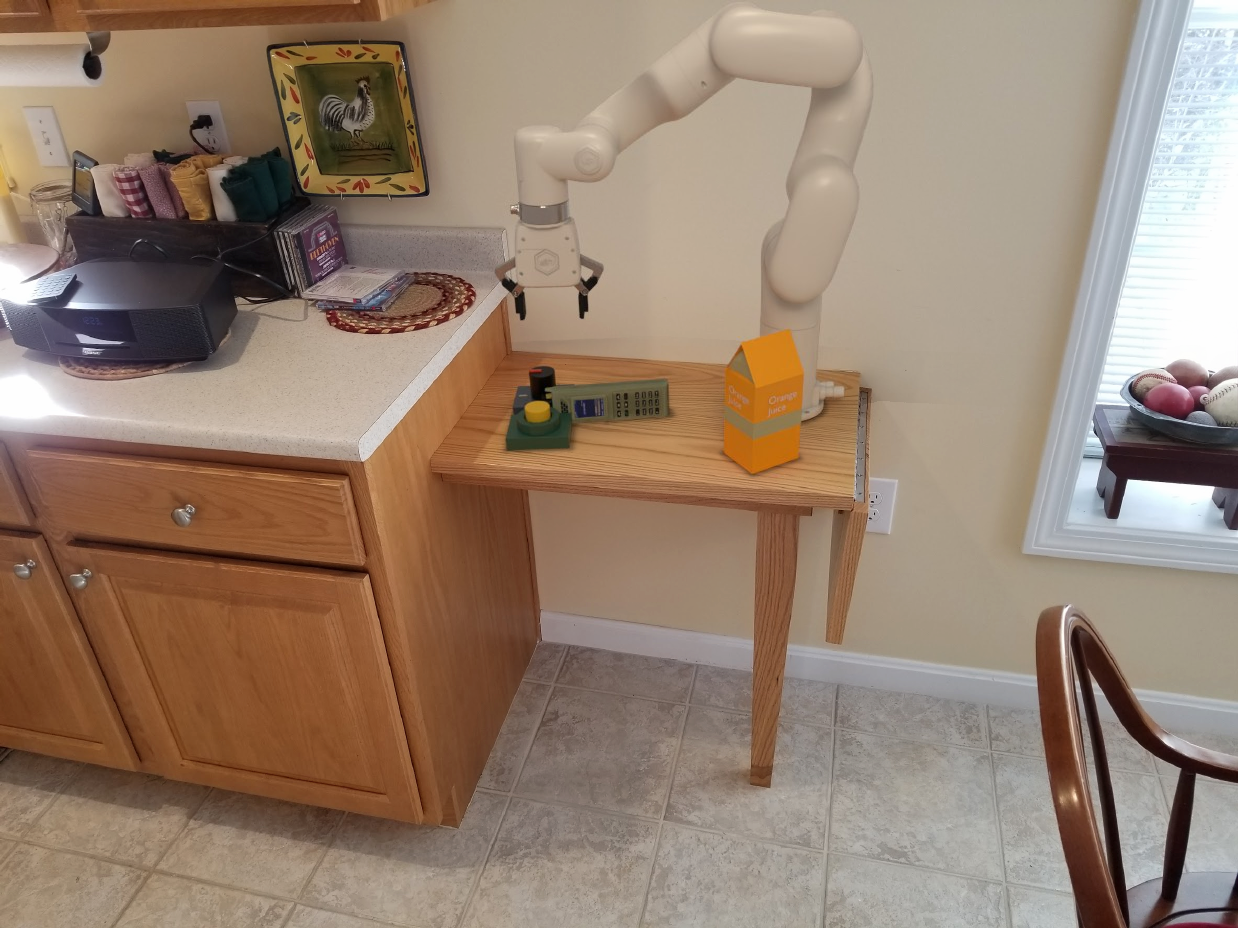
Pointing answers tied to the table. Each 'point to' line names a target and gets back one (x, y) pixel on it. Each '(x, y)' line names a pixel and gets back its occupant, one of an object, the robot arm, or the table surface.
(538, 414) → the yellow push button
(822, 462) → the table surface
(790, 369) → the orange juice
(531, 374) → the knob
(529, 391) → the nozzle panel
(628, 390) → the handheld radio
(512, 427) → the green button base
